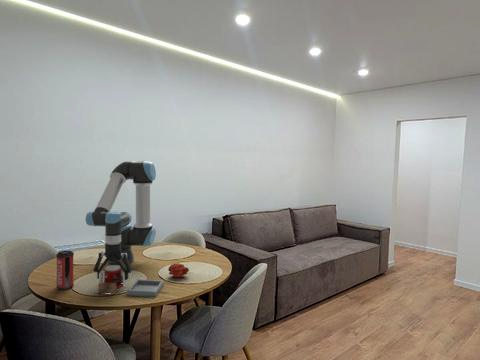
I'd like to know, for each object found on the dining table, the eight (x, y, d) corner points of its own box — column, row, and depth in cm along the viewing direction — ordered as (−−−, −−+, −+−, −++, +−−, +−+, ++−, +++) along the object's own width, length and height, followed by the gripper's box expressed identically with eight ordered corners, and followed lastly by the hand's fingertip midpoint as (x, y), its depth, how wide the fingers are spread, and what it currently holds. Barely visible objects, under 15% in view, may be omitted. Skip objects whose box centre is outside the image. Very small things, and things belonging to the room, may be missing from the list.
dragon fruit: (166, 278, 176) (187, 281, 176) (165, 274, 169) (187, 278, 169) (170, 264, 180) (190, 267, 181) (169, 259, 173) (190, 262, 174)
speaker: (77, 285, 159) (77, 250, 158) (65, 291, 151) (65, 255, 150) (64, 283, 160) (64, 249, 159) (52, 289, 153) (52, 253, 152)
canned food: (107, 285, 160) (107, 264, 159) (123, 285, 160) (123, 264, 160) (101, 291, 152) (102, 270, 151) (118, 291, 153) (118, 270, 152)
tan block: (98, 294, 149) (98, 284, 149) (111, 282, 163) (111, 273, 163) (114, 294, 149) (114, 284, 149) (126, 283, 163) (126, 274, 163)
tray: (126, 295, 149) (126, 290, 149) (137, 284, 163) (137, 279, 163) (155, 296, 148) (155, 291, 148) (163, 285, 162) (163, 280, 162)
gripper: (86, 243, 151) (85, 287, 152) (133, 245, 151) (133, 289, 152) (93, 239, 159) (93, 281, 160) (139, 241, 158) (138, 283, 159)
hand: (112, 285), depth 156 cm, fingers open, 11 cm apart
